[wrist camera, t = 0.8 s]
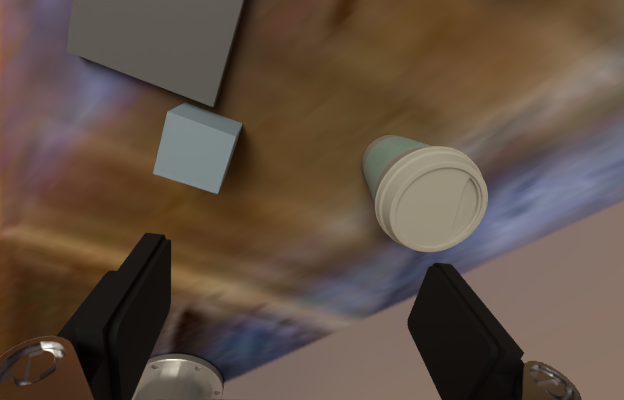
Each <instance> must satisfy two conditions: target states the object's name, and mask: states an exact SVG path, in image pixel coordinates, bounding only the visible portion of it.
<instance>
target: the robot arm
mask: <svg viewBox="0 0 624 400" xmlns="http://www.w3.org/2000/svg"><path fill="white" fill-rule="evenodd" d="M170 304H171V240H168V239H166V238H165V235H162V234H152V233H145V234H144V236H143V237H142V238H141V240H140V241H139V242H138V244H137V245H136V246H135V248H134V249H133V250H132V252H131V253H130V254H129V256H128V257H127V258H126V260H125V261H124V262H123V264H122V265H121V266H120V268H119V269H118V271H108V272H107V273H106V274H105V275H104V276H103V278H102V279H101V280H100V281H99V283H98V284H97V285H96V287H95V288H94V289H93V290H92V292H91V293H90V294H89V295H88V297H87V298H86V299H85V301H84V302H83V303H82V304H81V306H80V307H79V308H78V309H77V311H76V312H75V313H74V315H73V316H72V317H71V318H70V320H69V321H68V322H67V323H66V325H65V326H64V327H63V329H62V330H61V331H60V332H59V334H58V335H57V336H46V337H39V338H35V339H32V340H28V341H26V342H24V343H22V344H19V345H17V346H15V347H13V348H12V349H10V350H9V351H7V352H6V353H4V354H3V355H2V356H1V357H0V400H221V397H222V394H223V388H224V382H223V378H222V376H221V374H220V372H219V371H218V370H217V369H216V368H215V367H214V366H213V365H211V364H210V363H209V362H207V361H205V360H203V359H201V358H198V357H195V356H191V355H186V354H165V355H160V356H156V357H153V358H151V359H149V358H150V355H151V353H152V351H153V348H154V346H155V344H156V341H157V339H158V337H159V334H160V332H161V329H162V327H163V325H164V322H165V320H166V318H167V315H168V313H169V310H170ZM408 329H409V331H410V333H411V335H412V337H413V340H414V342H415V344H416V346H417V348H418V350H419V352H420V354H421V356H422V359H423V361H424V363H425V365H426V367H427V369H428V371H429V373H430V376H431V378H432V380H433V382H434V384H435V386H436V388H437V391H438V393H439V395H440V397H441V399H442V400H582V399H581V396H580V393H579V391H578V390H577V388H576V387H575V385H574V384H573V383H572V382H570V380H569V379H568V378H567V377H565V376H564V375H563V374H562V373H560V372H559V371H558V370H556V369H554V368H553V367H551V366H549V365H547V364H544V363H542V362H538V361H528V362H527V363H525V364H524V363H523V361H522V360H521V357H522V356H523V354H524V352H523V351H522V350H521V349H520V347H519V346H518V345H517V344H516V342H515V341H514V340H513V339H512V338H511V336H510V335H509V334H508V333H507V332H506V330H505V329H504V328H503V327H502V325H501V324H500V323H499V322H498V320H497V319H496V318H495V317H494V316H493V314H492V313H491V312H490V311H489V309H488V308H487V307H486V306H485V305H484V303H483V302H482V301H481V300H480V299H479V297H478V296H477V295H476V294H475V292H474V291H473V290H472V289H471V287H470V286H469V285H468V284H467V283H466V281H465V280H464V279H463V278H462V276H461V275H460V274H459V273H458V272H457V270H456V269H455V268H454V267H453V266H452V265H451V264H443V263H434V264H433V266H430V267H429V268H428V270H427V273H426V275H425V278H424V280H423V283H422V285H421V288H420V290H419V293H418V295H417V298H416V300H415V303H414V305H413V308H412V310H411V313H410V315H409V318H408Z"/></svg>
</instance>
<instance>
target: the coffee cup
mask: <svg viewBox="0 0 624 400" xmlns="http://www.w3.org/2000/svg"><path fill="white" fill-rule="evenodd" d="M362 170H363V173H364V176H365V179H366V182H367V184H368V187H369V189H370V192H371V195H372V197H373V200H374V203H375V212H376V217H377V220H378V222H379V224H380V226H381V228H382V229H383V231H384V232H385V233H386V234H387V235H388V236H390V237H391V238H392V239H393V240H394V241H396V242H397V243H399V244H401V245H403V246H406V247H408V248H410V249H413V250H416V251H420V252H437V251H442V250H445V249H448V248H451V247H453V246H455V245H457V244H459V243H460V242H462V241H463V240H465V239H466V238H467V237H468V236H469V235H470V234H471V233H472V232H473V231H474V230H475V229H476V228H477V226H478V225H479V223H480V222H481V220H482V218H483V216H484V214H485V211H486V208H487V203H488V191H487V187H486V184H485V182H484V179H483V178H482V175H481V172H480V171H479V169H478V167H477V166H476V165H475V164H474V162H473V161H472V160H471V159H470V158H469V157H468V156H466V155H465V154H464V153H462V152H460V151H458V150H456V149H453V148H449V147H442V146H435V147H433V146H430V145H427V144H424V143H420V142H417V141H414V140H411V139H408V138H404V137H401V136H398V135H385V136H382V137H379V138H378V139H376V140H374V141H373V142H372V143H371V144H370V145H369V146H368V147H367V149H366V150H365V152H364V155H363V158H362Z"/></svg>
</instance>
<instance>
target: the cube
mask: <svg viewBox="0 0 624 400" xmlns="http://www.w3.org/2000/svg"><path fill="white" fill-rule="evenodd" d="M241 128H242V123H239V122H236V121H234V120H231V119H228V118H226V117H223V116H220V115H218V114H215V113H213V112H210V111H207V110H205V109H202V108H199V107H197V106H194V105H191V104H189V103H186V102H185V103H184V104H182V105H180V106H178V107H176V108H174V109H172V110H170V111H168V112H167V116H166V121H165V125H164V129H163V134H162V138H161V142H160V146H159V151H158V155H157V159H156V164H155V168H154V172H153V174H156V175H159V176H162V177H165V178H168V179H172V180H175V181H178V182H181V183H184V184H187V185H191V186H194V187H197V188H200V189H203V190H206V191H209V192H213V193H216V194H218V192H219V190H220V188H221V185H222V183H223V181H224V178H225V176H226V174H227V171H228V168H229V165H230V162H231V158H232V155H233V152H234V149H235V146H236V143H237V140H238V137H239V134H240V131H241Z"/></svg>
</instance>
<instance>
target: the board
mask: <svg viewBox="0 0 624 400" xmlns="http://www.w3.org/2000/svg"><path fill="white" fill-rule="evenodd" d="M245 1H246V0H72V7H71V16H70V25H69V34H68V43H67V52H70V53H72V54H75V55H78V56H80V57H83V58H86V59H88V60H91V61H93V62H96V63H99V64H101V65H104V66H106V67H109V68H112V69H114V70H117V71H119V72H122V73H125V74H127V75H130V76H133V77H135V78H138V79H140V80H143V81H146V82H148V83H151V84H153V85H156V86H159V87H161V88H164V89H167V90H169V91H172V92H174V93H177V94H180V95H182V96H185V97H187V98H190V99H193V100H195V101H198V102H201V103H203V104H206V105H208V106H211V107H214V106H215V105H216V103H217V99H218V96H219V92H220V89H221V85H222V82H223V78H224V75H225V71H226V68H227V64H228V61H229V57H230V54H231V50H232V47H233V43H234V40H235V36H236V33H237V29H238V26H239V22H240V19H241V15H242V12H243V8H244V5H245Z"/></svg>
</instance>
